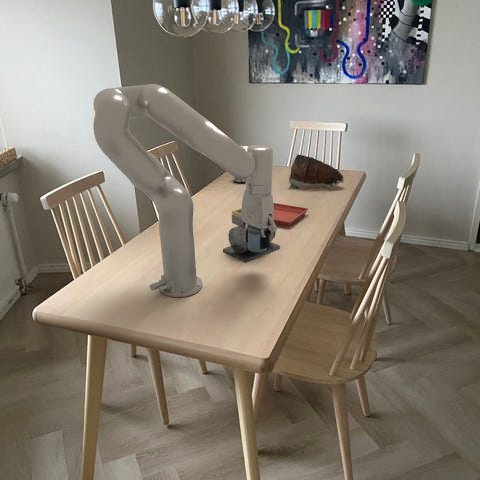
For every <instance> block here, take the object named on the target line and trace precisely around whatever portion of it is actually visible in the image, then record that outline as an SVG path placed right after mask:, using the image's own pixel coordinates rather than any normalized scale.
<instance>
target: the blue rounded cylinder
mask: <svg viewBox="0 0 480 480" xmlns="http://www.w3.org/2000/svg"><path fill="white" fill-rule="evenodd" d="M266 231H267V230H266V228H265V232H266ZM261 237H262V233H261V229H258V228H256V227H253V226H251V225H250V226H248V250H249V251H252V252H264V251H266V250H267V248H265V249H260V238H261Z"/></svg>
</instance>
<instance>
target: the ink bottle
mask: <svg viewBox="0 0 480 480" xmlns="http://www.w3.org/2000/svg"><path fill="white" fill-rule="evenodd" d="M233 182H234V183H235V184H243V185H246V184H245V183H246V178H244V179H238V178H235V177H234V176H233Z"/></svg>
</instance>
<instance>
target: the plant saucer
mask: <svg viewBox="0 0 480 480" xmlns="http://www.w3.org/2000/svg"><path fill="white" fill-rule="evenodd" d="M273 204H274V223H275V225H276V226H281V227H284V228H288V227H290V226H291V225H293V224H294V223H296V222H297V221H298V220H299V219H301V218H302V217H304V215H305V214H306V213H307V212H308V211H309V208H307V207H301V206H295V205H288V204H282V203H277V202H276V203H275V202H273Z"/></svg>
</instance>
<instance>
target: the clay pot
mask: <svg viewBox="0 0 480 480" xmlns="http://www.w3.org/2000/svg"><path fill="white" fill-rule="evenodd" d="M344 181H345V178H344V175H343V174H342V173H341V172H340V170H339V169H338V168H335V167H333V166H331V165H330V164H328V163H325V162H324V161H321V160H318V159H316V158H314V157H313V156H306V155H303V154H296V156H295V157H294V159H293V162H292V165H291V167H290V174H289V178H288V182H289V184H290V185H291V186H294V187H295V188H296V187H297V188H298V189H301V190H302V189H307V188H308V189H309V188H313V187H320V188H321V187H322V188H327V189H328V188H331V187H334V186H337V185H339V184H340V183H341V184H343V183H344Z"/></svg>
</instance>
